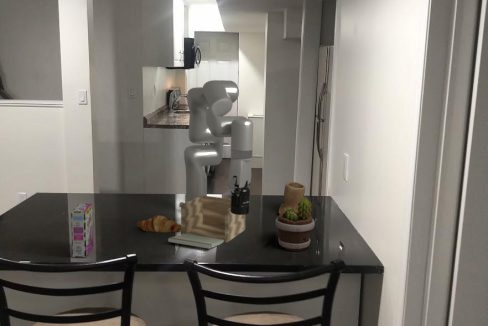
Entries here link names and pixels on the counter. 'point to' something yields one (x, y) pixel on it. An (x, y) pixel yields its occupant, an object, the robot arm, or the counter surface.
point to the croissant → (159, 225)
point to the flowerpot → (295, 226)
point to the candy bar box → (82, 230)
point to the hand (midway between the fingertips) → (240, 203)
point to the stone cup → (292, 196)
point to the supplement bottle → (242, 201)
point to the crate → (211, 218)
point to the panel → (196, 240)
